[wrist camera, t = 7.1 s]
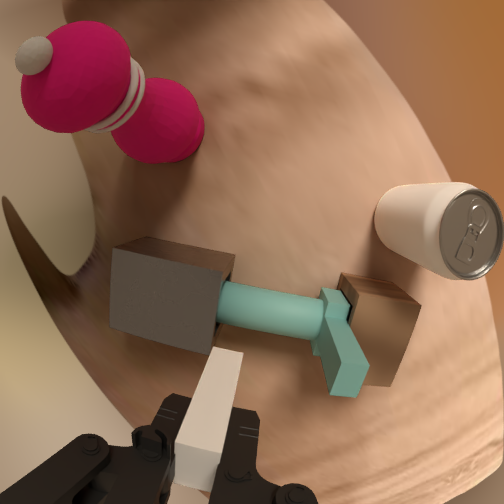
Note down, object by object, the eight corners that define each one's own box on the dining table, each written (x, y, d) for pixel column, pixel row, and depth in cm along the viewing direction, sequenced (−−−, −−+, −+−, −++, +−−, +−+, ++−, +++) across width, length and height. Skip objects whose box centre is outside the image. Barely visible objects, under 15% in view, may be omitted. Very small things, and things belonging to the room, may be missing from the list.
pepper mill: (198, 175, 27) (47, 141, 8) (131, 160, 27) (-41, 132, 8) (219, 102, 26) (123, -35, 6) (151, 92, 26) (13, -4, 6)
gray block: (145, 236, 29) (112, 247, 22) (235, 254, 28) (222, 271, 22) (139, 302, 30) (109, 327, 23) (223, 323, 30) (209, 355, 23)
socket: (341, 272, 28) (359, 294, 21) (392, 282, 27) (421, 305, 21) (321, 344, 29) (331, 381, 22) (370, 351, 29) (390, 386, 22)
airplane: (203, 313, 28) (163, 377, 17) (210, 265, 27) (168, 308, 16) (365, 343, 27) (403, 413, 16) (380, 297, 27) (432, 353, 16)
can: (439, 201, 26) (517, 208, 14) (417, 262, 27) (487, 299, 15) (386, 174, 26) (452, 162, 14) (362, 238, 27) (417, 267, 15)
